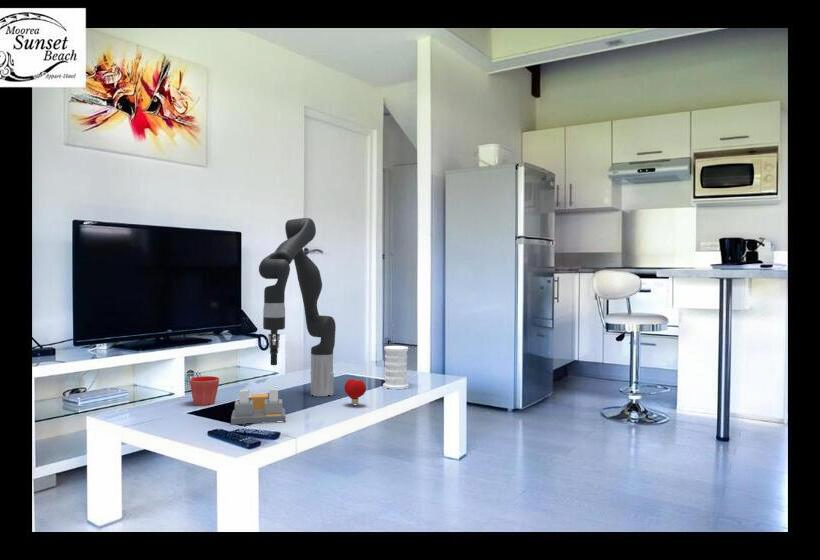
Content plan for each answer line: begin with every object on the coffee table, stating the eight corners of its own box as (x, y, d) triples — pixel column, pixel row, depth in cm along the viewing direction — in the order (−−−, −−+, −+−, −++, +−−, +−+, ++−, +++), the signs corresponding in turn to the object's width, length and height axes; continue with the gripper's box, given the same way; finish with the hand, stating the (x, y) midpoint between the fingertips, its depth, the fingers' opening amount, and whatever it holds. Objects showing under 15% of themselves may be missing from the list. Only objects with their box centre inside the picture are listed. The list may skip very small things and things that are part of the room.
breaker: (248, 404, 208) (248, 389, 208) (248, 406, 205) (248, 391, 205) (239, 405, 207) (240, 389, 207) (239, 407, 205) (239, 391, 204)
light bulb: (369, 405, 230) (370, 379, 230) (358, 408, 224) (358, 382, 224) (351, 402, 235) (351, 377, 235) (339, 405, 229) (340, 379, 229)
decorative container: (380, 389, 261) (380, 348, 261) (386, 384, 273) (386, 345, 272) (406, 390, 259) (406, 349, 259) (410, 385, 271) (411, 346, 270)
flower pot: (221, 404, 228) (222, 379, 228) (192, 407, 223) (192, 382, 222) (216, 399, 237) (216, 375, 237) (187, 402, 232) (187, 377, 232)
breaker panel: (284, 413, 216) (284, 397, 215) (285, 422, 204) (285, 404, 204) (233, 415, 211) (233, 399, 211) (230, 424, 200) (231, 406, 200)
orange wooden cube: (267, 407, 224) (267, 393, 224) (267, 411, 218) (267, 396, 218) (251, 408, 222) (251, 394, 222) (250, 412, 217) (250, 397, 217)
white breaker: (277, 403, 210) (277, 388, 210) (277, 405, 208) (278, 390, 207) (269, 404, 210) (269, 388, 210) (269, 406, 207) (269, 390, 207)
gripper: (285, 317, 202) (285, 367, 203) (284, 314, 215) (284, 361, 216) (263, 317, 201) (262, 368, 201) (263, 314, 214) (263, 362, 214)
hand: (273, 364), depth 208 cm, fingers closed
